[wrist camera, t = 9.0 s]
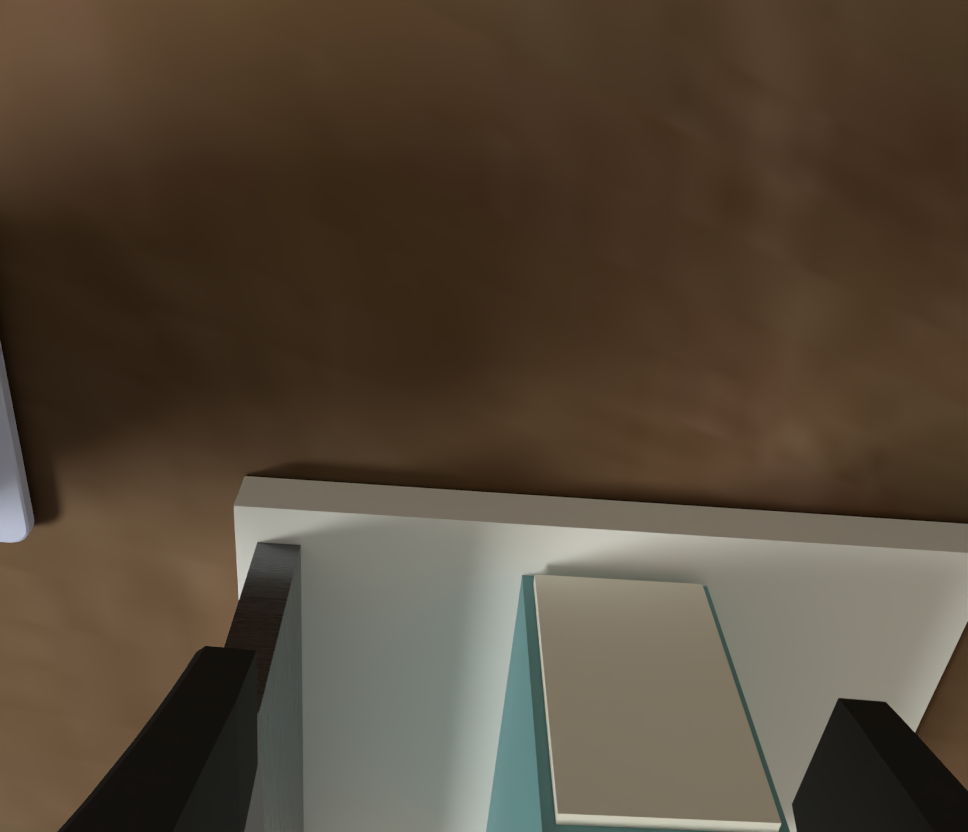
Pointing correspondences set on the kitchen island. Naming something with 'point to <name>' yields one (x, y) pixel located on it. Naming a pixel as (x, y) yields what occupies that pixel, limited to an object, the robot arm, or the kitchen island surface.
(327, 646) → the shelf board
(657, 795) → the small book
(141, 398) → the kitchen island surface
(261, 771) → the bookend
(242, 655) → the robot arm
